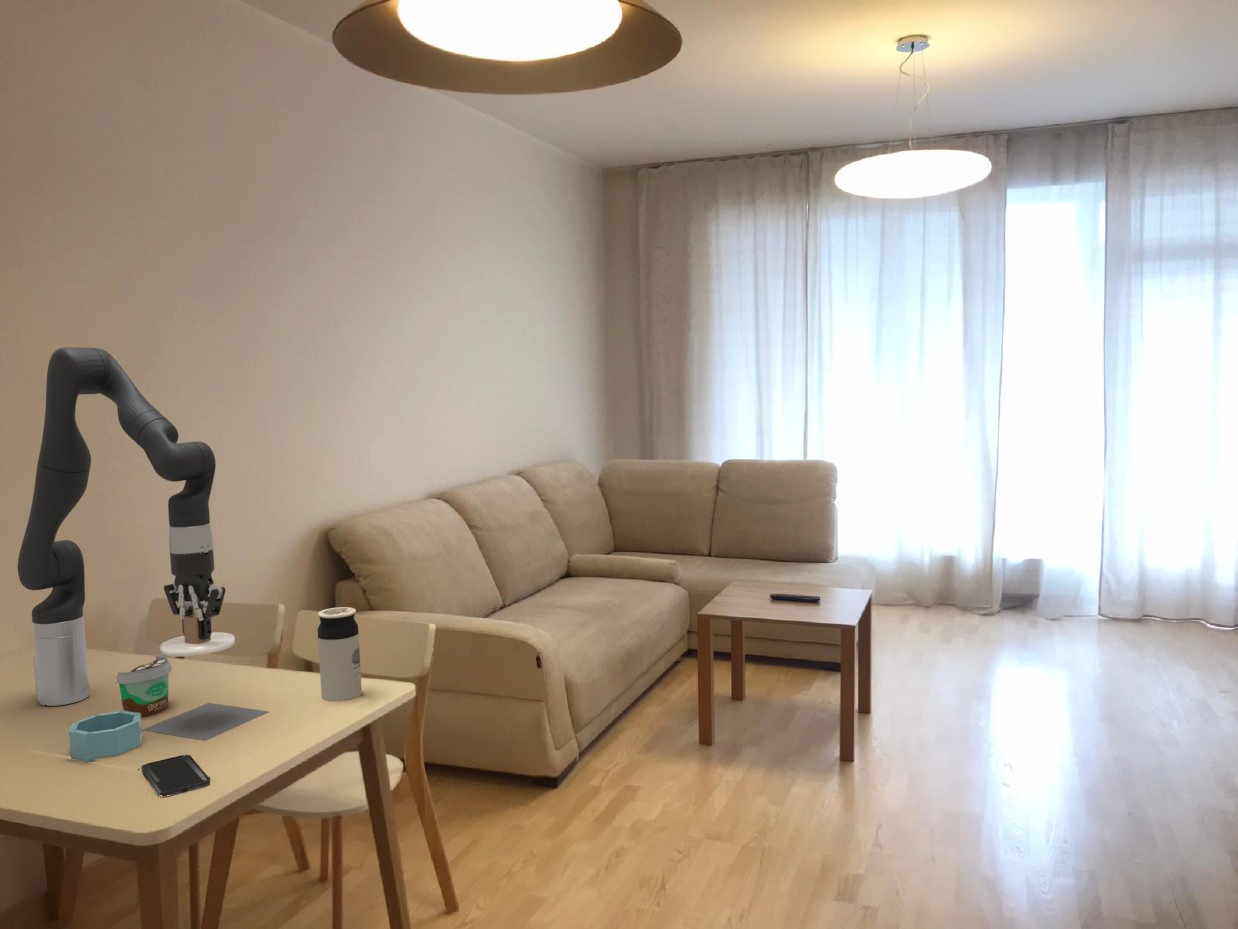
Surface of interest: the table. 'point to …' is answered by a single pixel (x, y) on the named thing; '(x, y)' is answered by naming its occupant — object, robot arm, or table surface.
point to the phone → (175, 775)
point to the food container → (145, 687)
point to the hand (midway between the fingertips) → (197, 637)
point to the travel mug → (339, 654)
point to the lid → (196, 641)
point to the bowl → (105, 735)
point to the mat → (205, 721)
